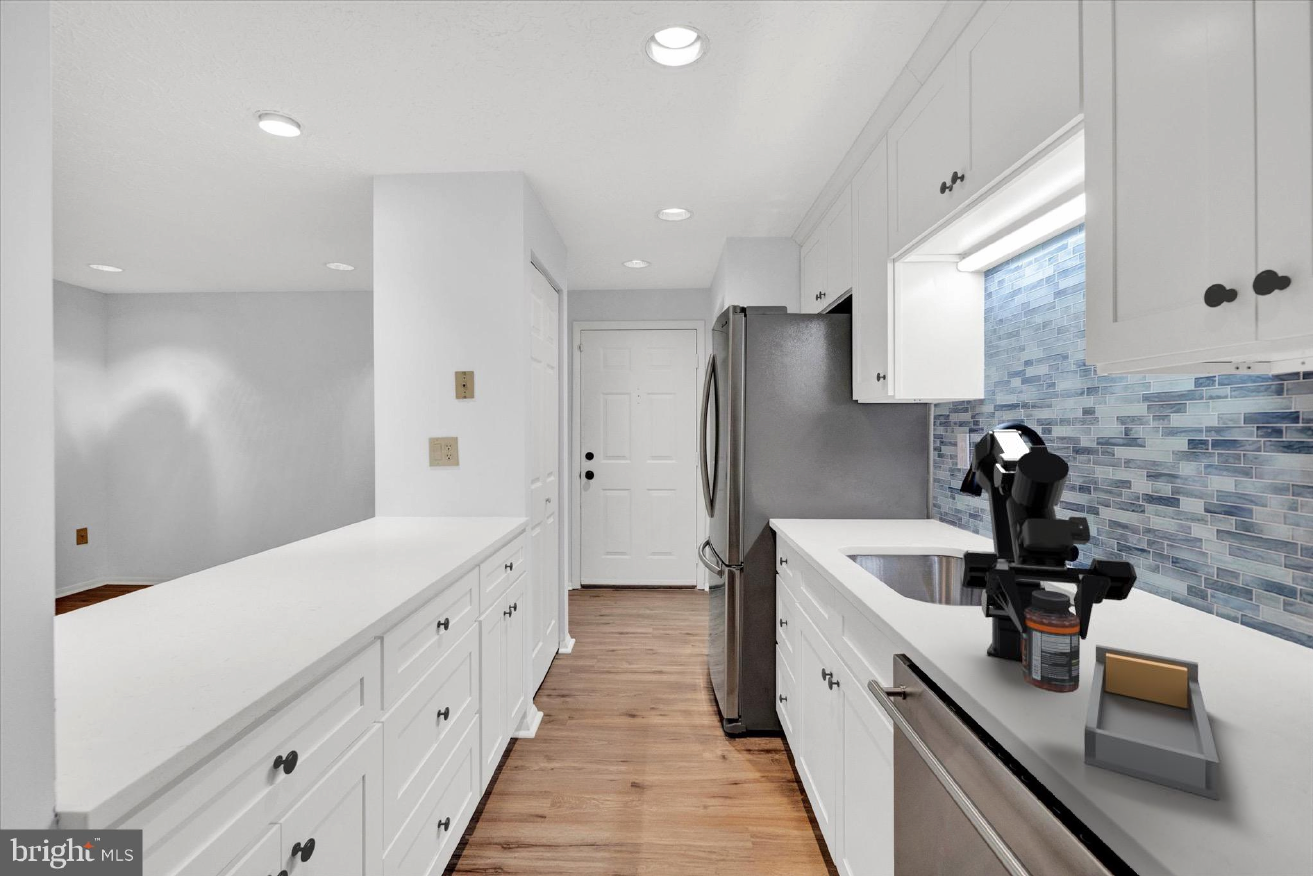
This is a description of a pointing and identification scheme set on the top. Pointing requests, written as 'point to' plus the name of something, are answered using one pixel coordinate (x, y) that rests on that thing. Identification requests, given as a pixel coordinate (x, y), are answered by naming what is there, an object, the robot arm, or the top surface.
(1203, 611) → the top surface
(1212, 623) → the top surface
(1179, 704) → the pusher
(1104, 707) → the tray
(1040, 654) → the supplement bottle
